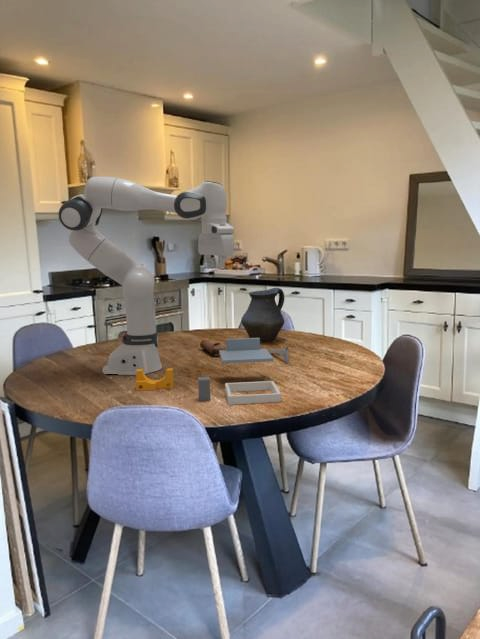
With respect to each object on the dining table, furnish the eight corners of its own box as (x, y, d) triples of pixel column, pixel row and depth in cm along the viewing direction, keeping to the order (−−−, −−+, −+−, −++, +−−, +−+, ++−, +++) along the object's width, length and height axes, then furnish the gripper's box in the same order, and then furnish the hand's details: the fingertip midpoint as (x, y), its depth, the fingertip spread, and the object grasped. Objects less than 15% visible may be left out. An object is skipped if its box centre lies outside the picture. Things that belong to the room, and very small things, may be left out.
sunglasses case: (231, 350, 219) (221, 339, 216) (219, 362, 218) (209, 351, 215) (217, 342, 235) (207, 332, 233) (206, 353, 234) (197, 343, 232)
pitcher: (234, 339, 251) (233, 288, 247) (272, 334, 262) (271, 285, 257) (255, 346, 234) (254, 292, 229) (295, 341, 244) (295, 289, 239)
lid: (222, 363, 169) (222, 348, 169) (219, 353, 184) (218, 339, 183) (273, 361, 171) (273, 346, 170) (266, 351, 186) (266, 337, 185)
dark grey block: (199, 402, 159) (198, 380, 158) (198, 398, 162) (198, 377, 161) (210, 401, 159) (209, 379, 158) (209, 398, 163) (209, 376, 162)
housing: (228, 406, 155) (228, 396, 154) (225, 392, 168) (224, 383, 168) (281, 403, 156) (281, 393, 156) (273, 389, 170) (273, 380, 170)
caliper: (289, 363, 202) (289, 347, 201) (286, 363, 202) (286, 348, 201) (271, 351, 221) (271, 337, 220) (268, 351, 221) (269, 337, 220)
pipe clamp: (136, 391, 171) (135, 372, 170) (138, 387, 176) (137, 369, 175) (172, 390, 172) (171, 371, 171) (173, 386, 176) (172, 368, 175)
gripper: (193, 229, 189) (194, 267, 191) (220, 228, 171) (221, 270, 174) (208, 229, 192) (209, 266, 194) (236, 228, 174) (237, 269, 177)
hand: (215, 268), depth 184 cm, fingers open, 8 cm apart
